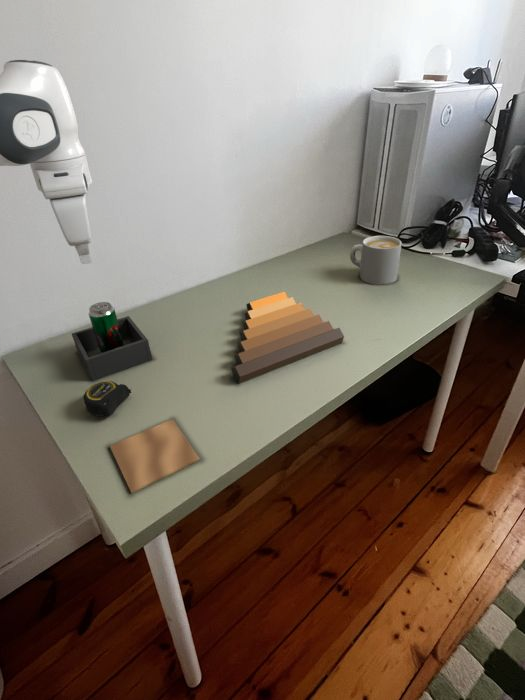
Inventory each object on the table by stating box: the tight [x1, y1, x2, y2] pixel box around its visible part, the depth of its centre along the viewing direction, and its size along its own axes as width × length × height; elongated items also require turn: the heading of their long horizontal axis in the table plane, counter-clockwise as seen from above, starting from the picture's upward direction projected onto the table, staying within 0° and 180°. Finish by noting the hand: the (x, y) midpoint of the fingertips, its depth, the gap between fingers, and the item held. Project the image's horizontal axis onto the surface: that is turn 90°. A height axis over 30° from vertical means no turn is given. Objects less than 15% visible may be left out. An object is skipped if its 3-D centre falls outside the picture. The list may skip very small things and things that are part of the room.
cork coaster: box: [109, 418, 201, 494], centre depth 69 cm, size 11×11×1 cm
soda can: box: [88, 301, 125, 354], centre depth 90 cm, size 5×5×12 cm
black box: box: [71, 315, 153, 382], centre depth 92 cm, size 13×13×5 cm
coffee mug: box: [349, 235, 402, 286], centre depth 118 cm, size 13×10×10 cm
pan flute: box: [231, 291, 345, 384], centre depth 96 cm, size 25×3×25 cm
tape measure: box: [82, 380, 132, 418], centre depth 78 cm, size 7×7×4 cm
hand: (85, 253), depth 81 cm, fingers open, 8 cm apart
